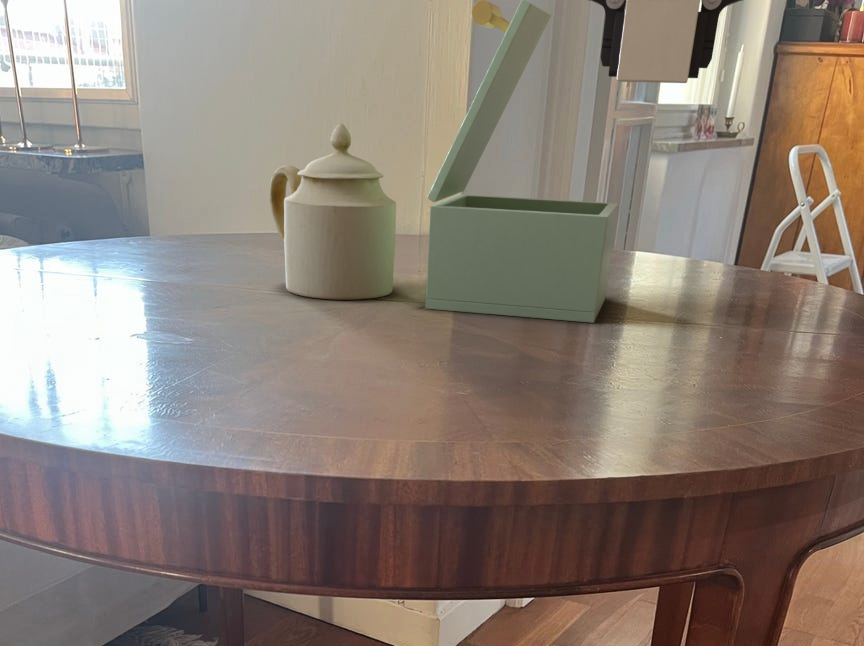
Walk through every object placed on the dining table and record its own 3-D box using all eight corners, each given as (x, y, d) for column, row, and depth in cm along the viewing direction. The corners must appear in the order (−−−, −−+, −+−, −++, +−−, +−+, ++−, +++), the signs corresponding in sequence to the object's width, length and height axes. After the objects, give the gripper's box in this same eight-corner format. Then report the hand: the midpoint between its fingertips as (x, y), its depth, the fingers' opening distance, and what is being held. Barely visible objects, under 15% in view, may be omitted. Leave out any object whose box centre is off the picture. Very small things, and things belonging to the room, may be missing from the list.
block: (686, 83, 67) (699, 4, 64) (687, 82, 63) (700, -2, 61) (620, 81, 68) (629, 4, 65) (616, 80, 64) (626, -2, 62)
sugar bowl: (232, 291, 95) (223, 120, 88) (278, 274, 104) (274, 118, 97) (372, 304, 91) (375, 126, 84) (407, 286, 100) (413, 124, 93)
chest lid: (551, 15, 87) (504, -14, 87) (530, 3, 76) (477, -30, 76) (463, 191, 96) (421, 165, 96) (434, 202, 85) (386, 173, 85)
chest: (605, 298, 97) (618, 203, 93) (593, 323, 86) (608, 216, 82) (454, 286, 101) (460, 194, 96) (425, 308, 90) (430, 206, 86)
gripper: (819, -243, 58) (758, 80, 67) (583, -232, 61) (554, 76, 70) (836, -284, 52) (766, 78, 60) (572, -270, 55) (541, 74, 64)
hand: (652, 75), depth 65 cm, fingers closed on block, 4 cm apart
